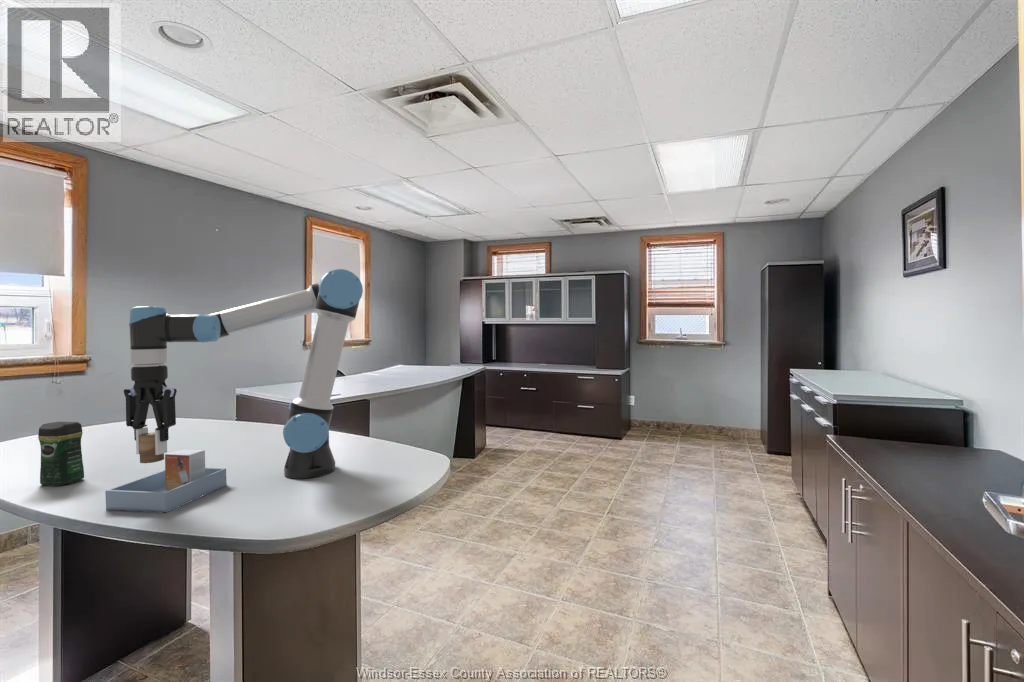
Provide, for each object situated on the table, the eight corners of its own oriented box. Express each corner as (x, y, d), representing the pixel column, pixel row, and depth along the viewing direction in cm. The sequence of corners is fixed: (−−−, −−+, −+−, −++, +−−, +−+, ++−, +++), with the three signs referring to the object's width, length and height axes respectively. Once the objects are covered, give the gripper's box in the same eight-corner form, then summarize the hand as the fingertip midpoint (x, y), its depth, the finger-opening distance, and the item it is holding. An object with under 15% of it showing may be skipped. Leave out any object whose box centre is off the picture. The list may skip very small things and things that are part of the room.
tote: (226, 485, 134) (226, 468, 133) (165, 513, 114) (164, 493, 113) (174, 483, 136) (174, 466, 136) (106, 509, 116) (105, 490, 116)
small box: (164, 491, 128) (163, 454, 127) (182, 484, 133) (181, 448, 133) (189, 492, 126) (188, 455, 126) (206, 485, 132) (205, 449, 132)
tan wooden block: (151, 463, 117) (151, 436, 116) (134, 462, 117) (133, 436, 117) (168, 458, 122) (168, 432, 121) (152, 457, 122) (151, 431, 122)
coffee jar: (90, 478, 141) (88, 419, 141) (62, 487, 133) (60, 424, 133) (62, 477, 142) (60, 419, 142) (33, 486, 134) (31, 424, 134)
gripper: (191, 364, 121) (194, 450, 122) (133, 364, 124) (135, 448, 124) (167, 366, 114) (169, 458, 114) (105, 366, 116) (107, 456, 117)
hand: (151, 452), depth 119 cm, fingers closed on tan wooden block, 5 cm apart
